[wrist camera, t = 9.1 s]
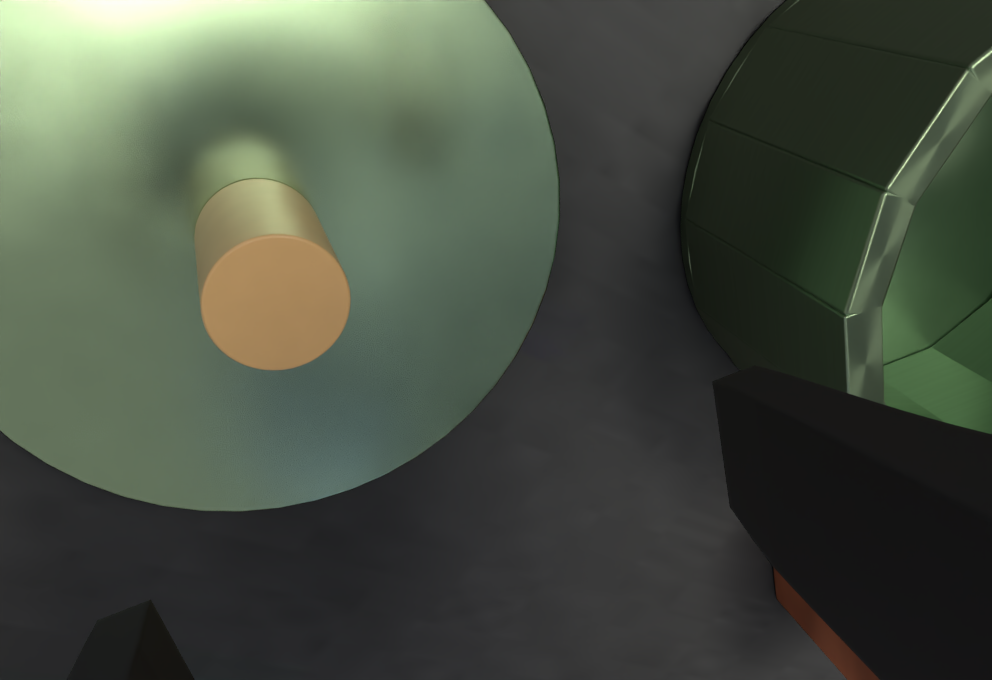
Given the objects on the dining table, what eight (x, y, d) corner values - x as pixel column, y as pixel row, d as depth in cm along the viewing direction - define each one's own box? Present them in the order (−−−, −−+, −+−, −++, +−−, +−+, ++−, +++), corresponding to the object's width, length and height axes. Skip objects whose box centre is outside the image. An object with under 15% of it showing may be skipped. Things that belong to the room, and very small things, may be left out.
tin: (1059, 309, 28) (1284, 412, 22) (707, 449, 26) (857, 600, 20) (1093, -121, 22) (1405, -128, 17) (648, 13, 20) (832, 55, 14)
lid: (587, 375, 23) (673, 473, 19) (76, 564, 21) (55, 717, 17) (471, -195, 17) (562, -224, 13) (-258, -14, 15) (-407, 15, 11)
